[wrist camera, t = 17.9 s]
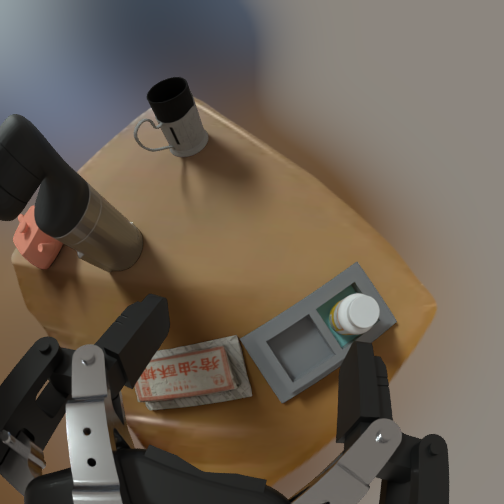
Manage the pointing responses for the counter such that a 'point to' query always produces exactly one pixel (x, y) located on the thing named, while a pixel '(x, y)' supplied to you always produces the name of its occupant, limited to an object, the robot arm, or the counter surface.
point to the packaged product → (195, 375)
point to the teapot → (35, 242)
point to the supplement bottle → (354, 314)
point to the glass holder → (176, 117)
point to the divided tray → (311, 336)
